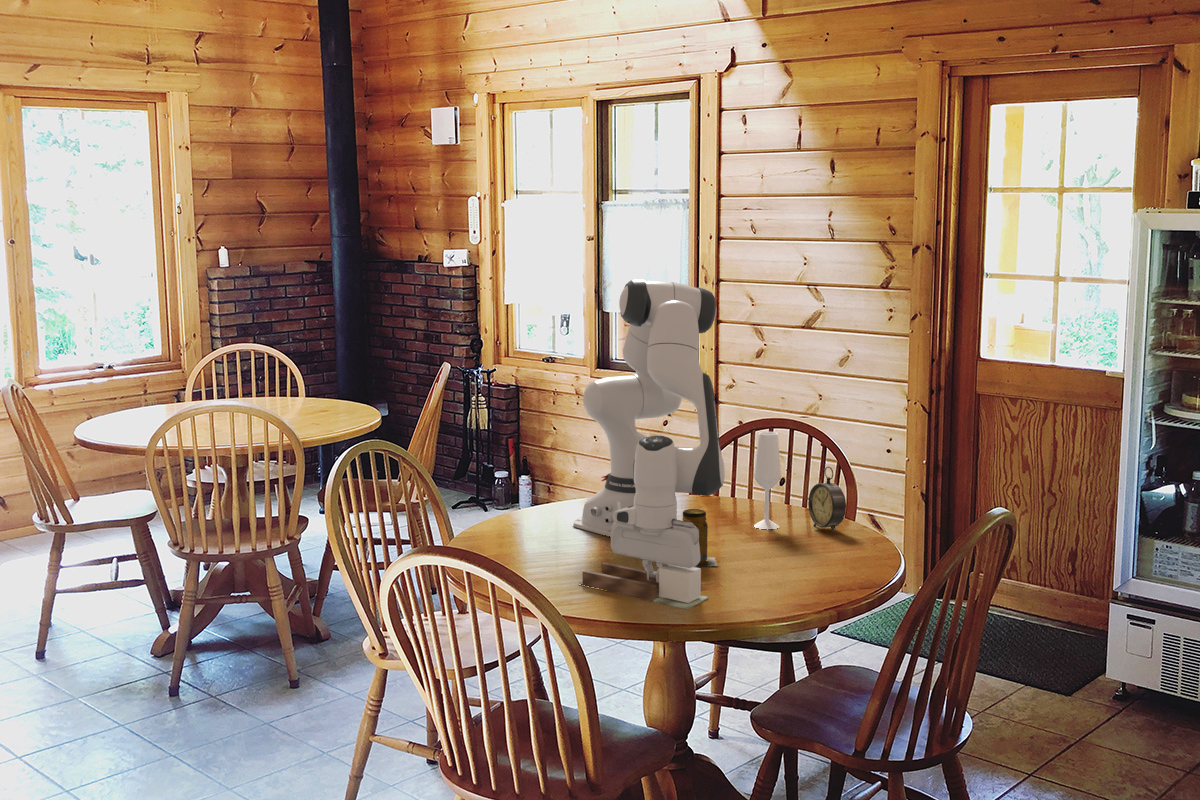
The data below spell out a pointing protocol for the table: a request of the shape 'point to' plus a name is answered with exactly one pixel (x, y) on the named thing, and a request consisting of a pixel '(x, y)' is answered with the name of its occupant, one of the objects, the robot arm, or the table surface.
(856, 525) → the table surface
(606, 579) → the chute
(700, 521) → the condiment
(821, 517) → the alarm clock
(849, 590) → the table surface
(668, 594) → the block
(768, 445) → the champagne flute
